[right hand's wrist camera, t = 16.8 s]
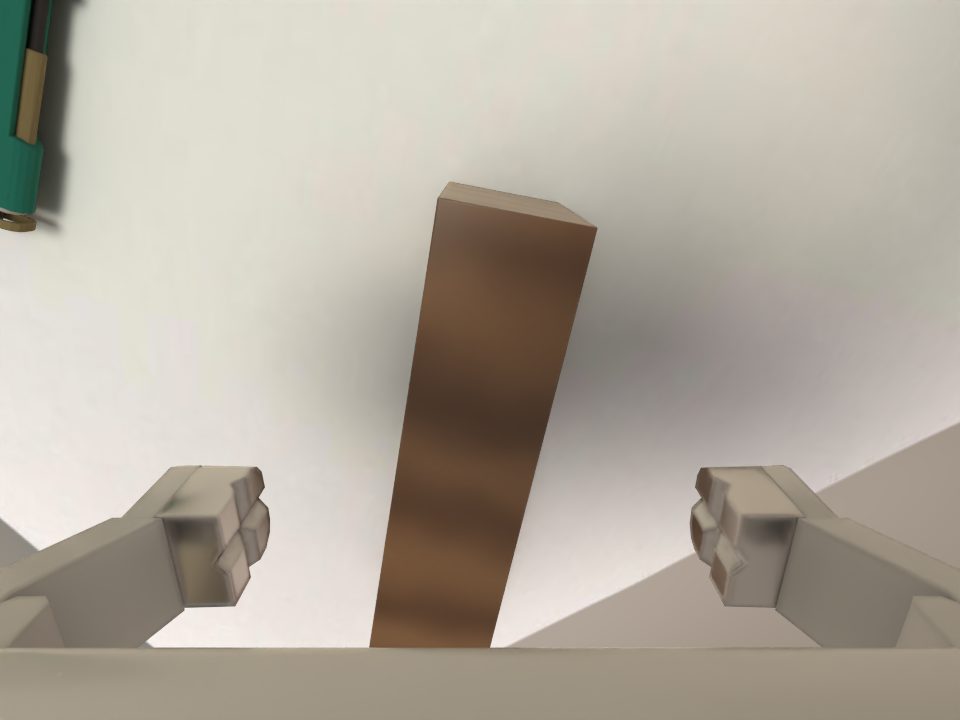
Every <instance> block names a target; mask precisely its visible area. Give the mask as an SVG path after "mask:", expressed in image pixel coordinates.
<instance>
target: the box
mask: <svg viewBox="0 0 960 720" xmlns="http://www.w3.org/2000/svg"><path fill="white" fill-rule="evenodd" d="M596 232H597V227H595V226H594V225H592V224H590V223H589V222H587V221H586V220H584V219H583V218H581V217H580V216H578V215H577V214H575V213H573V212H572V211H570V210H569V209H567V208H566V207H564V206H563V205H561V204H559V203H557V202H552V201H547V200H542V199H536V198H531V197H526V196H521V195H516V194H511V193H505V192H500V191H495V190H490V189H485V188H480V187H474V186H469V185H464V184H459V183H454V182H449V183H448V184H447V186H446V187H445V189H444V190H443V191H442V193H441V194H440V196H439V197H438V200H437V206H436V213H435V219H434V226H433V232H432V239H431V246H430V252H429V259H428V265H427V272H426V278H425V285H424V292H423V298H422V305H421V311H420V318H419V324H418V331H417V337H416V344H415V351H414V357H413V364H412V370H411V377H410V383H409V390H408V397H407V403H406V410H405V416H404V423H403V429H402V436H401V442H400V449H399V456H398V462H397V469H396V475H395V482H394V488H393V495H392V502H391V508H390V515H389V521H388V528H387V534H386V541H385V548H384V554H383V561H382V567H381V574H380V580H379V587H378V593H377V600H376V607H375V613H374V620H373V626H372V633H371V639H370V646H369V648H490V645H491V641H492V637H493V633H494V630H495V626H496V622H497V618H498V614H499V610H500V606H501V602H502V598H503V594H504V591H505V587H506V583H507V579H508V575H509V571H510V567H511V563H512V559H513V555H514V552H515V548H516V544H517V540H518V536H519V532H520V528H521V524H522V520H523V516H524V513H525V509H526V505H527V501H528V497H529V493H530V489H531V485H532V481H533V477H534V474H535V470H536V466H537V462H538V458H539V454H540V450H541V446H542V442H543V438H544V435H545V431H546V427H547V423H548V419H549V415H550V411H551V407H552V403H553V399H554V396H555V392H556V388H557V384H558V380H559V376H560V372H561V368H562V364H563V360H564V357H565V353H566V349H567V345H568V341H569V337H570V333H571V329H572V325H573V321H574V318H575V314H576V310H577V306H578V302H579V298H580V294H581V290H582V286H583V282H584V279H585V275H586V271H587V267H588V263H589V259H590V255H591V251H592V247H593V243H594V240H595V236H596Z"/></svg>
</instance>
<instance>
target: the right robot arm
mask: <svg viewBox="0 0 960 720" xmlns="http://www.w3.org/2000/svg"><path fill="white" fill-rule="evenodd" d="M264 488H265V486H264V481H263V476H262V472H261V471H260V470H259V469H258V468H257V467H239V466H201V465H197V466H175V467H171V468H170V469H169V470H168V471H167V472H166V473H165V474H164V475H163V476H162V477H161V478H160V479H159V480H158V481H157V482H156V483H155V484H154V485H153V486H152V487H151V488H150V489H149V490H148V491H147V492H146V493H145V494H144V495H143V496H142V497H141V498H140V499H139V500H138V501H137V502H136V503H135V504H134V505H133V506H132V507H131V508H130V510H129V511H128V512H127V513H126V514H125V515H124V516H123V517H122V518H111V519H109V520H107V521H104V522H102V523H100V524H98V525H96V526H93V527H91V528H89V529H87V530H85V531H82V532H80V533H78V534H76V535H74V536H71V537H69V538H67V539H65V540H63V541H60V542H58V543H56V544H54V545H52V546H49V547H47V548H45V549H43V550H41V551H38V552H36V553H34V554H32V555H30V556H27V557H25V558H23V559H21V560H19V561H17V562H14V563H12V564H10V565H8V566H6V567H3V568H1V569H0V720H960V569H958V568H956V567H954V566H952V565H950V564H948V563H945V562H943V561H941V560H939V559H937V558H934V557H932V556H930V555H928V554H926V553H924V552H921V551H919V550H917V549H915V548H913V547H910V546H908V545H906V544H904V543H902V542H899V541H897V540H895V539H893V538H891V537H888V536H886V535H884V534H882V533H880V532H878V531H875V530H873V529H871V528H869V527H867V526H864V525H862V524H860V523H858V522H856V521H853V520H851V519H849V518H838V517H837V516H836V515H835V514H834V513H833V511H832V510H831V509H830V508H829V507H828V506H827V505H826V504H825V503H824V502H823V501H822V500H821V499H820V498H819V497H818V496H817V495H816V494H815V493H814V492H813V491H812V490H811V489H810V488H809V487H808V486H807V485H806V484H805V483H804V482H803V481H802V480H801V479H800V478H799V477H798V476H797V475H796V474H795V473H794V472H793V470H792V469H791V468H789V467H786V466H784V465H775V466H750V467H710V468H701V469H700V471H699V473H698V475H697V480H696V486H695V488H696V489H697V491H698V493H699V494H700V496H701V499H700V500H699V501H698V502H697V503H696V504H695V505H694V506H693V507H692V510H691V518H690V531H691V539H692V543H693V546H694V549H695V551H696V553H697V555H698V557H699V559H700V560H702V561H703V562H705V563H706V564H707V565H709V566H711V571H710V577H709V578H710V580H711V581H712V583H713V585H714V587H715V589H716V591H717V593H718V594H719V596H720V598H721V600H722V602H723V604H724V605H725V606H733V607H769V608H776V611H777V612H779V613H780V614H781V615H782V616H784V617H785V618H786V619H787V620H789V621H790V622H791V623H792V624H794V625H795V626H796V627H797V628H799V629H800V630H801V631H802V632H804V633H805V634H806V635H807V636H809V637H810V638H811V639H812V640H814V641H815V642H816V643H817V644H819V645H820V646H821V647H822V648H138V647H139V646H140V645H141V644H143V643H144V642H145V641H146V640H148V639H149V638H150V637H152V636H153V635H154V634H155V633H157V632H158V631H159V630H160V629H162V628H163V627H164V626H165V625H167V624H168V623H169V622H170V621H172V620H173V619H174V618H175V617H177V616H178V615H179V614H180V613H182V612H183V611H184V608H191V607H226V606H236V604H237V602H238V600H239V598H240V596H241V594H242V593H243V591H244V589H245V587H246V585H247V583H248V581H249V580H250V578H251V576H250V571H249V567H250V566H251V565H253V564H254V563H256V562H257V561H259V560H260V559H261V557H262V555H263V553H264V551H265V549H266V546H267V542H268V538H269V533H270V516H269V510H268V507H267V506H266V505H265V504H264V503H263V502H262V501H261V500H260V499H259V496H260V494H261V493H262V491H263V489H264Z"/></svg>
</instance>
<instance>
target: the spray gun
mask: <svg viewBox="0 0 960 720" xmlns="http://www.w3.org/2000/svg"><path fill="white" fill-rule="evenodd" d="M52 2H53V0H0V228H2V229H5V230H9V231H15V232H27V231H33V230H35V228H36V221H35V220H34V219H31V218H29V217H26V216H23V215H28V214H31V213H34V212H35V207H36V200H37V193H38V186H39V179H40V172H41V165H42V158H43V151H44V148H43V145H42V144H41V142H40V141H39V140H38V139H36V138H37V131H38V123H39V116H40V109H41V102H42V95H43V88H44V80H45V73H46V66H47V59H48V57H47V56H46V55H45V54H46V47H47V39H48V32H49V24H50V17H51V9H52ZM3 218H5V219H8V220H11V221H14V222H10V221H6V220H3ZM15 222H17V223H15Z"/></svg>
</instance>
